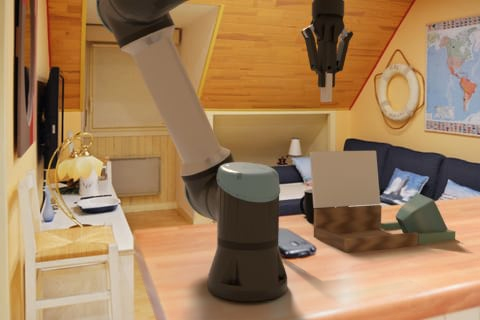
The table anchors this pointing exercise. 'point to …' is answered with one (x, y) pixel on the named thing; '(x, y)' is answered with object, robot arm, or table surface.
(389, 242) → the brown wooden box
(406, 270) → the table surface
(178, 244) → the table surface
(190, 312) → the table surface
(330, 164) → the lid
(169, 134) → the robot arm
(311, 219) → the mug
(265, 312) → the table surface
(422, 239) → the potting tray
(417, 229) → the flower pot
